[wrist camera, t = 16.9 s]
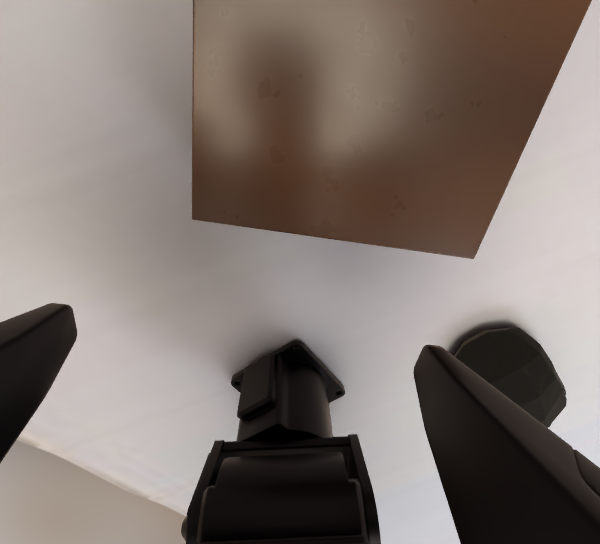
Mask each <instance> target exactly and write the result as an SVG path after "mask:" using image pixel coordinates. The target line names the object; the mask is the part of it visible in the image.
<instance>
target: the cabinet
mask: <svg viewBox="0 0 600 544" xmlns="http://www.w3.org/2000/svg"><path fill="white" fill-rule="evenodd" d="M591 1H592V0H193V113H192V219H193V220H200V221H207V222H214V223H221V224H228V225H235V226H242V227H250V228H257V229H264V230H271V231H278V232H285V233H292V234H299V235H307V236H314V237H321V238H328V239H335V240H342V241H349V242H356V243H363V244H371V245H378V246H385V247H392V248H399V249H406V250H413V251H420V252H428V253H435V254H442V255H449V256H456V257H463V258H470V259H474V257H475V255H476V253H477V251H478V249H479V246H480V244H481V242H482V240H483V238H484V235H485V233H486V231H487V229H488V227H489V224H490V222H491V220H492V218H493V216H494V213H495V211H496V209H497V207H498V205H499V202H500V200H501V198H502V196H503V194H504V192H505V189H506V187H507V185H508V183H509V181H510V178H511V176H512V174H513V172H514V170H515V167H516V165H517V163H518V161H519V159H520V156H521V154H522V152H523V150H524V148H525V145H526V143H527V141H528V139H529V137H530V135H531V132H532V130H533V128H534V126H535V124H536V121H537V119H538V117H539V115H540V113H541V110H542V108H543V106H544V104H545V102H546V99H547V97H548V95H549V93H550V91H551V88H552V86H553V84H554V82H555V80H556V77H557V75H558V73H559V71H560V69H561V67H562V64H563V62H564V60H565V58H566V56H567V53H568V51H569V49H570V47H571V45H572V42H573V40H574V38H575V36H576V34H577V31H578V29H579V27H580V25H581V23H582V20H583V18H584V16H585V14H586V12H587V10H588V7H589V5H590V3H591Z"/></svg>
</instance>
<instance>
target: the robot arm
mask: <svg viewBox="0 0 600 544" xmlns="http://www.w3.org/2000/svg"><path fill="white" fill-rule="evenodd" d="M76 338H77V328H76V323H75V318H74V313H73V309H72V308H71V306H69V305H66V304H57V303H50V304H47V305H45V306H42V307H40V308H37V309H34V310H32V311H29V312H27V313H24V314H21V315H19V316H16V317H14V318H11V319H8V320H6V321H3V322H1V323H0V463H1V461H2V460H3V458H4V457H5V455H6V454H7V453H8V451H9V450H10V448H11V446H12V445H13V444H14V442H15V441H16V439H17V438H18V436H19V435H20V433H21V432H22V431H23V429H24V428H25V426H26V425H27V423H28V422H29V420H30V419H31V417H32V416H33V414H34V413H35V411H36V410H37V408H38V407H39V405H40V404H41V402H42V401H43V399H44V398H45V396H46V394H47V393H48V391H49V389H50V388H51V386H52V384H53V382H54V380H55V378H56V376H57V374H58V373H59V371H60V369H61V367H62V365H63V363H64V361H65V360H66V358H67V356H68V354H69V352H70V350H71V348H72V347H73V345H74V343H75V341H76ZM294 347H299V348H297V349H296V348H294ZM414 379H415V383H416V388H417V393H418V398H419V403H420V408H421V413H422V418H423V422H424V427H425V431H426V434H427V438H428V441H429V444H430V447H431V450H432V453H433V457H434V460H435V463H436V466H437V469H438V473H439V476H440V479H441V482H442V485H443V488H444V492H445V495H446V498H447V501H448V504H449V507H450V511H451V514H452V517H453V520H454V523H455V526H456V530H457V533H458V536H459V539H460V542H461V544H600V468H599V467H598V466H596V465H595V464H594V463H592V462H591V461H590V460H589V459H587V458H586V457H585V456H583V455H582V454H581V453H579V452H578V451H577V450H573V448H572V447H571V446H570V445H569V444H568V443H566V442H565V441H564V440H562V439H561V438H560V437H558V436H557V435H556V434H555V433H553V432H552V431H551V430H549V429H548V428H547V427H545V426H544V425H543V424H542V423H540V422H539V421H538V420H536V419H535V418H534V417H532V416H531V415H530V414H528V413H527V412H526V411H525V410H523V409H522V408H521V407H519V406H518V405H517V404H515V403H514V402H513V401H512V400H510V399H509V398H508V397H506V396H505V395H504V394H502V393H501V392H500V391H498V390H497V389H496V388H495V387H493V386H492V385H491V384H489V383H488V382H487V381H485V380H484V379H483V378H482V377H480V376H479V375H478V374H476V373H475V372H474V371H472V370H471V369H470V368H468V367H467V366H466V365H465V364H463V363H462V362H461V361H459V360H458V359H457V358H455V357H454V356H453V355H452V354H450V353H449V352H448V351H446V350H445V349H444V348H442V347H440V346H434V345H425V346H424V347H423V349H422V351H421V353H420V355H419V358H418V360H417V362H416V365H415V367H414ZM238 381H240V382H238ZM231 385H232V386H233V387H234V388H235V389H237V390H238V391H239V392H240V393H241V394H240V400H239V406H238V412H237V417H238V418H240V423H239V429H238V436H237V441H234V442H225V441H224V440H221V441H215V442H214V445H213V447H212V450H211V453H209V455H208V457H207V460H206V463H205V465H204V468H203V471H202V473H201V476H200V479H199V481H198V484H197V487H196V489H195V492H194V495H193V497H192V500H191V503H190V505H189V508H188V512H187V516H186V517H185V519H184V521H183V524H182V529H181V533H182V536H183V538H184V539H185V541H186V544H381V540H380V530H379V522H378V515H377V509H376V503H375V498H374V493H373V489H372V485H371V482H370V478H369V475H368V471H367V468H366V464H365V461H364V457H363V454H362V450H361V446H360V443H359V439H358V436H357V434H353V435H348V436H344V437H333V435H332V427H331V418H330V410H329V403H330V402H332V401H334V400H336V399H338V398H340V397H342V396H343V395H344V394H345V390H344V387H343V385H342V384H341V383H340V382H339V381H338V380H337V379H336V378H335V377H334V376H333V375H332V374H331V373H330V372H329V370H328V369H327V368H326V367H325V366H324V365H323V364H322V363H321V362H320V361H319V360H318V359H317V358H316V357H315V356H314V355H313V353H312V352H311V351H310V350H309V349H308V348H307V347H306V346H305V345H304V344H303V343H302V342H301V341H298V340H297V341H292V342H291V343H289V344H287V345H286V346H284V347H282V348H280V349H279V350H277V351H275V352H274V353H271V354H269V355H267V356H265V357H264V358H262V359H260V360H258V361H257V362H255V363H253V364H252V365H250V366H248V367H246V368H245V369H244V370H243V371H241V372H239V373H237V374H236V375H234V376H233V377H232V380H231Z"/></svg>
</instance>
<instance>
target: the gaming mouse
mask: <svg viewBox="0 0 600 544" xmlns="http://www.w3.org/2000/svg"><path fill="white" fill-rule="evenodd" d="M454 357H455V358H457V359H458V360H459V361H461V362H462V363H463V364H465V365H466V366H467V367H468V368H470V369H471V370H472V371H474V372H475V373H476V374H478V375H479V376H480V377H482V378H483V379H484V380H485V381H487V382H488V383H489V384H491V385H492V386H493V387H495V388H496V389H497V390H498V391H500V392H501V393H502V394H504V395H505V396H506V397H508V398H509V399H510V400H512V401H513V402H514V403H515V404H517V405H518V406H519V407H521V408H522V409H523V410H525V411H526V412H527V413H528V414H530V415H531V416H532V417H534V418H535V419H536V420H538V421H539V422H540V423H542V424H543V425H544V426H545V427H547V428H548V427H550V425H551V423H552V422H553V421H554V419H555V418H556V417H557V416H558V415H559V413H560V412H561V411H562V410H563V409H564V407H565V406H566V400H567V399H566V396H565V395H566V391H565V389H564V388H565V387H564V385H563V383H562V382H561V380H560V378H559V376H558V374H557V373H556V371H555V368H554V366H553V364H552V362H551V360H550V359H549V357H548V356H547V354H546V353H545V351H544V350H543V348H542V347H541V345H540V344H539V343H538V342H537V341H536V340H534V339H533V338H532V337H531V336H529V335H528V334H527V333H525V332H524V331H523V330H521V329H520V328H515V327H511V328H502V329H493V330H484V331H482V332H480V333H478V334H477V335H475V336H473V337H471V338H470V339H468V340H466V341H464V342H463V343H462V345H461V346H460V348H459V349H458V351H457V352H456V354H455V355H454Z"/></svg>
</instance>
